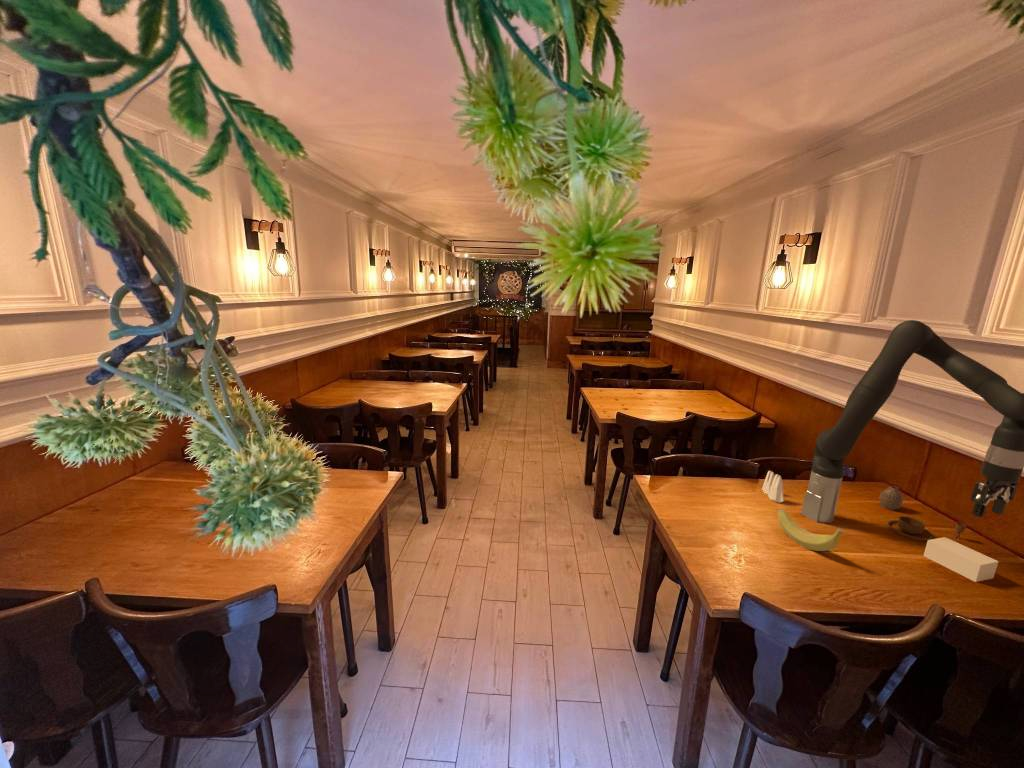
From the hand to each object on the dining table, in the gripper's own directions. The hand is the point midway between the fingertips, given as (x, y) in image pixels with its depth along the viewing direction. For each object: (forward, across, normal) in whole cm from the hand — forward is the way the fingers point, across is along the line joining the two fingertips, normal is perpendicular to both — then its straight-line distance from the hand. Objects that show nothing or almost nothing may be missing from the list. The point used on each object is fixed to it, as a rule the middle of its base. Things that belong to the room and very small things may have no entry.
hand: (987, 514), depth 126 cm
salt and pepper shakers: (+21, -19, +53) cm, 60 cm away
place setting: (+20, +12, +18) cm, 30 cm away
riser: (+20, 0, +3) cm, 20 cm away
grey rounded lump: (+20, +22, +37) cm, 47 cm away
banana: (+19, -38, +31) cm, 52 cm away
